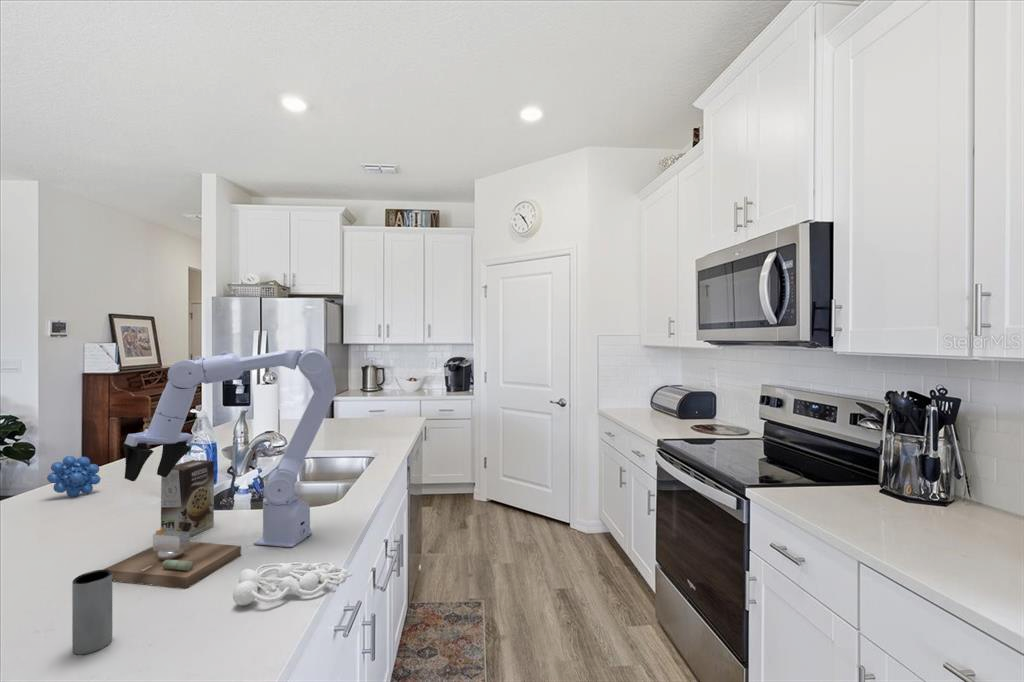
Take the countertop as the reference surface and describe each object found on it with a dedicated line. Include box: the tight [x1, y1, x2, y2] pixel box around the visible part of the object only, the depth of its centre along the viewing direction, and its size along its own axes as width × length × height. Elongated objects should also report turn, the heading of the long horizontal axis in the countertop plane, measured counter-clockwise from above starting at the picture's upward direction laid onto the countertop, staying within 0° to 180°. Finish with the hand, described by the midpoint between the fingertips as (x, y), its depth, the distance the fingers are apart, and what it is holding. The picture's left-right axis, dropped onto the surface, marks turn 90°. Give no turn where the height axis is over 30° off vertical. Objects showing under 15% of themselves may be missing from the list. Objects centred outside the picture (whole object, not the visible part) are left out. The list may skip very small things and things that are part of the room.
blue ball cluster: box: [46, 455, 101, 498], centre depth 142 cm, size 12×7×12 cm, turn 139°
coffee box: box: [160, 459, 215, 538], centre depth 116 cm, size 9×6×16 cm
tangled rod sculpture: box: [232, 561, 353, 606], centre depth 91 cm, size 19×14×4 cm
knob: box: [152, 528, 190, 560], centre depth 99 cm, size 6×4×5 cm
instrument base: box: [102, 541, 242, 589], centre depth 98 cm, size 18×14×4 cm
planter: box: [71, 569, 113, 655], centre depth 73 cm, size 4×4×10 cm
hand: (146, 477), depth 103 cm, fingers open, 7 cm apart
